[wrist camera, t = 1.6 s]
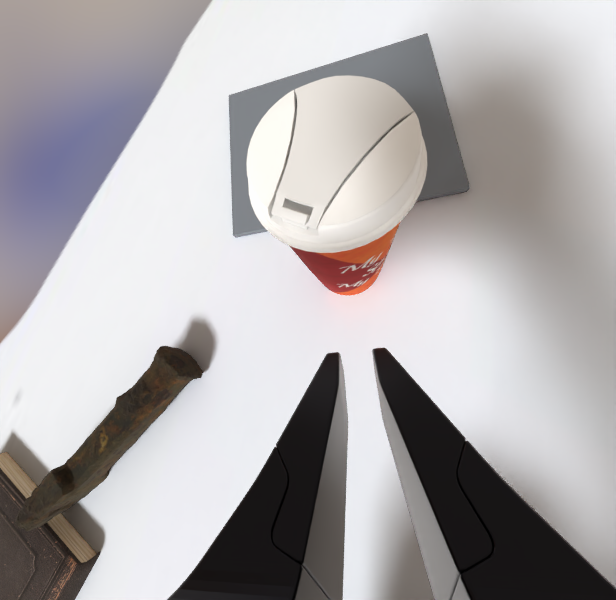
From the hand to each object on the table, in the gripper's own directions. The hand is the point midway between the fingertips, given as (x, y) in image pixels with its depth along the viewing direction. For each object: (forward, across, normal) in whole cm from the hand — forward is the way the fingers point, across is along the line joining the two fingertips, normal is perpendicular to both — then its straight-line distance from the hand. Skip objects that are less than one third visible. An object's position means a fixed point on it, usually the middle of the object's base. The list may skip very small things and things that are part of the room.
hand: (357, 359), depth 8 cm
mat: (+25, 0, -6) cm, 26 cm away
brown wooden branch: (+6, +22, +14) cm, 27 cm away
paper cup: (+16, 0, +4) cm, 16 cm away
